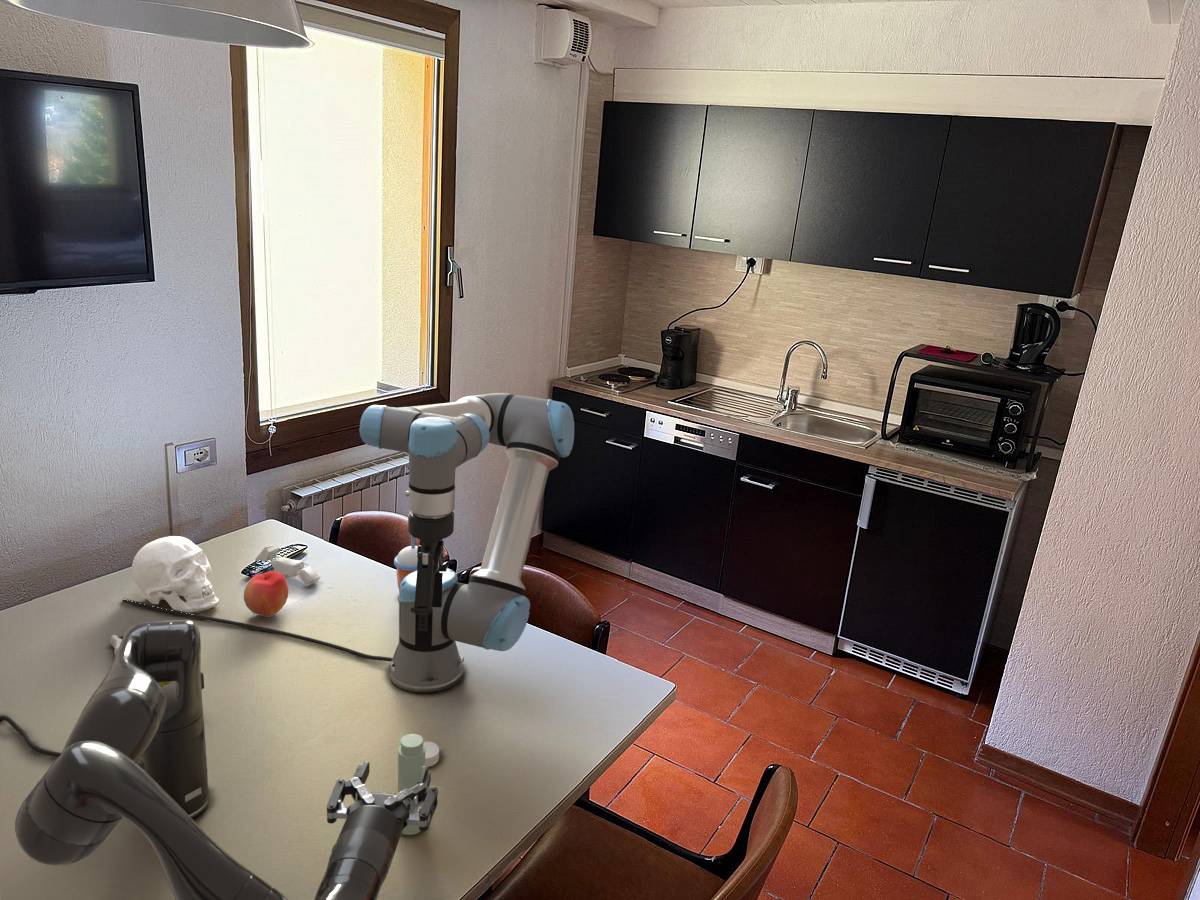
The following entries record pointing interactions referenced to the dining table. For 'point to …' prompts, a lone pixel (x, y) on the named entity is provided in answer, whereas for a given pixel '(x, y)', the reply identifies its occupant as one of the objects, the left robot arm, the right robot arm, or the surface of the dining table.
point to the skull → (174, 574)
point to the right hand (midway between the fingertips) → (429, 624)
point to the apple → (266, 593)
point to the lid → (431, 753)
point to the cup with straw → (406, 561)
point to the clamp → (288, 565)
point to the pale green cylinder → (410, 769)
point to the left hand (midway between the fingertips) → (396, 768)
